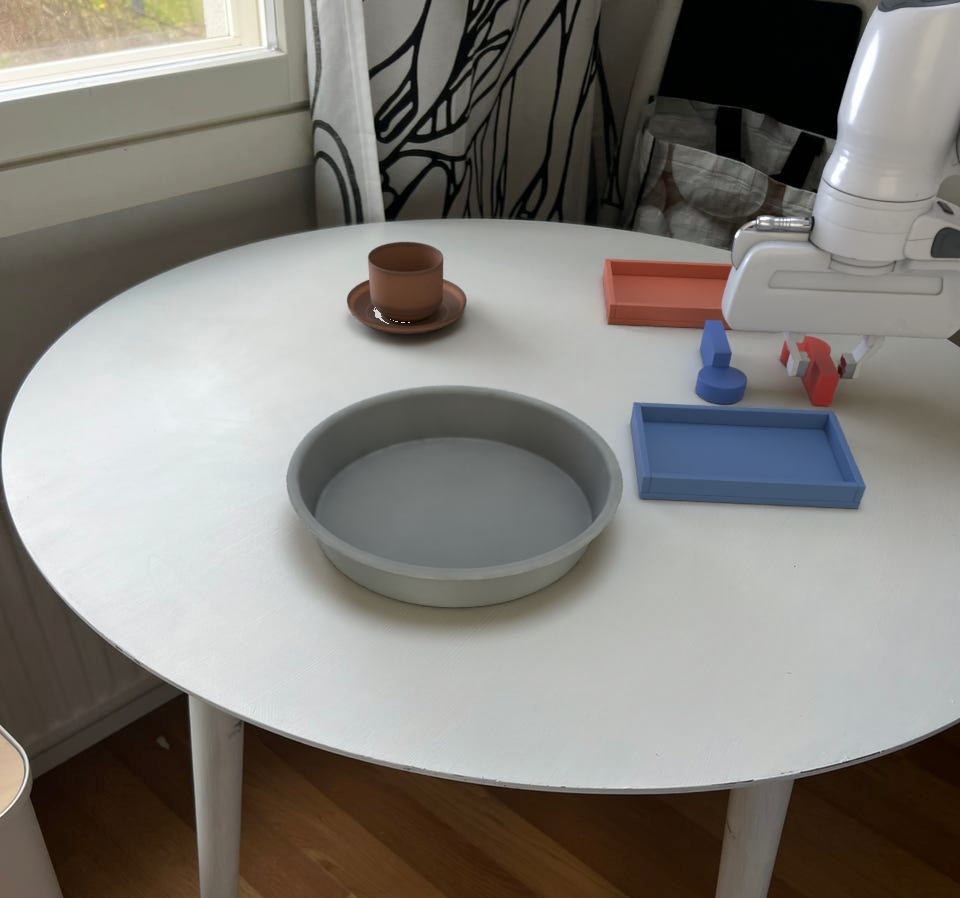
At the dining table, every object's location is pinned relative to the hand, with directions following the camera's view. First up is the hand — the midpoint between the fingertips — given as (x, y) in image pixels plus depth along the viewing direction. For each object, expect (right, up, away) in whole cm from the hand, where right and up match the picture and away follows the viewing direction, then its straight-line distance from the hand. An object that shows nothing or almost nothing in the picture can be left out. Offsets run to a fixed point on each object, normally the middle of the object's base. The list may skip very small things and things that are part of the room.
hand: (821, 375), depth 86 cm
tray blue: (-10, -9, -8) cm, 15 cm away
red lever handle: (0, +1, +3) cm, 3 cm away
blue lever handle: (-9, +1, +3) cm, 9 cm away
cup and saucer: (-38, +9, +10) cm, 41 cm away
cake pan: (-33, -15, -14) cm, 39 cm away
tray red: (-9, +11, +14) cm, 20 cm away
